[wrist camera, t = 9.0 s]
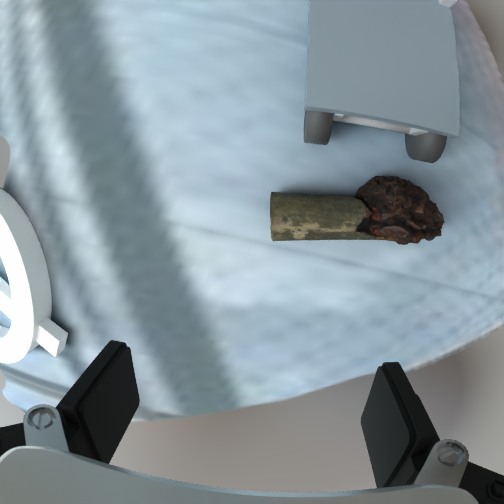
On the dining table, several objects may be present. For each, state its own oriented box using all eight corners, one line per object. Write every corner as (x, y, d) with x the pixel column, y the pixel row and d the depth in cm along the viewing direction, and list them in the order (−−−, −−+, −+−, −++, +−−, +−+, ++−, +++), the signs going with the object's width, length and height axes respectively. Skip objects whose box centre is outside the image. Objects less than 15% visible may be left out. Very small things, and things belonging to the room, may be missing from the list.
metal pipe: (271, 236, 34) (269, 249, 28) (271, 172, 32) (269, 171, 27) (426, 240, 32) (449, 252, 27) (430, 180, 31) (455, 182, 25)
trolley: (306, -16, 26) (319, -120, 9) (420, 9, 25) (491, -64, 8) (297, 144, 31) (320, 112, 14) (423, 164, 30) (533, 166, 13)
